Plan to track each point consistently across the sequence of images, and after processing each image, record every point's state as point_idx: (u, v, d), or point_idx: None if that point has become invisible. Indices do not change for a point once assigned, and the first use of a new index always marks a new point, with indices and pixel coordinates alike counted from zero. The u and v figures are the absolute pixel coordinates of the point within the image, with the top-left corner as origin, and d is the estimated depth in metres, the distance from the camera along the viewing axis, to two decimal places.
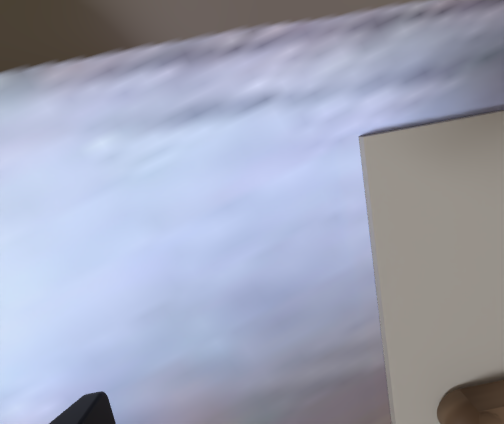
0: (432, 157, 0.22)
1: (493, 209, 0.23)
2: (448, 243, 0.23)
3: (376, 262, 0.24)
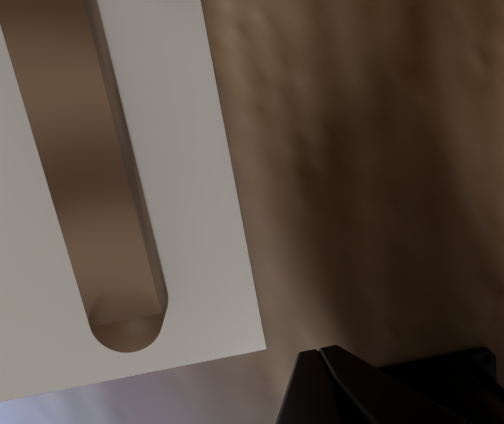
0: None
1: None
2: None
3: None
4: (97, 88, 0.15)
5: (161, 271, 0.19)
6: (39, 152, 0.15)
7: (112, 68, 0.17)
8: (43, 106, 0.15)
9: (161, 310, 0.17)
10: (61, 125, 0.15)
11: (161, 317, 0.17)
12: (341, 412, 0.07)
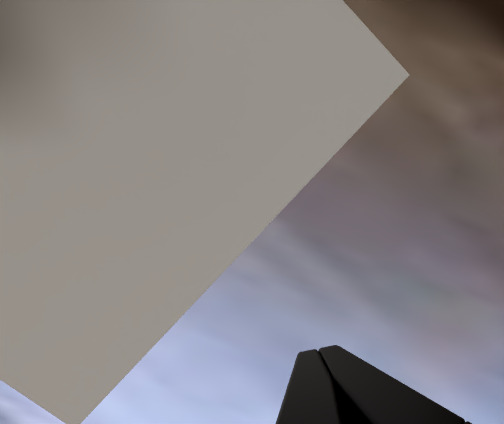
0: (36, 362, 0.19)
1: (25, 265, 0.18)
2: (95, 279, 0.19)
3: (171, 325, 0.20)
4: None
5: None
6: None
7: None
8: None
9: None
10: None
11: None
12: (341, 412, 0.07)
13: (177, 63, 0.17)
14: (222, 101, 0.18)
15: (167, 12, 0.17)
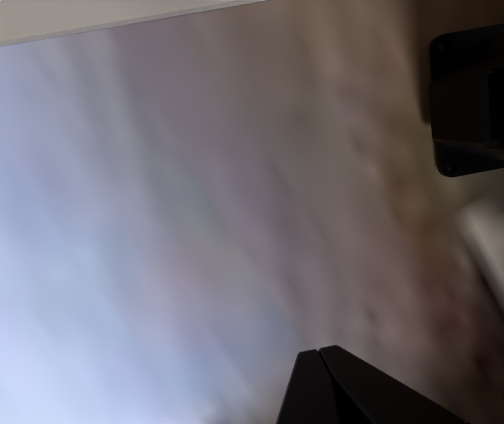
0: None
1: None
2: None
3: None
4: None
5: None
6: None
7: None
8: None
9: None
10: None
11: None
12: (341, 412, 0.07)
13: None
14: None
15: None
